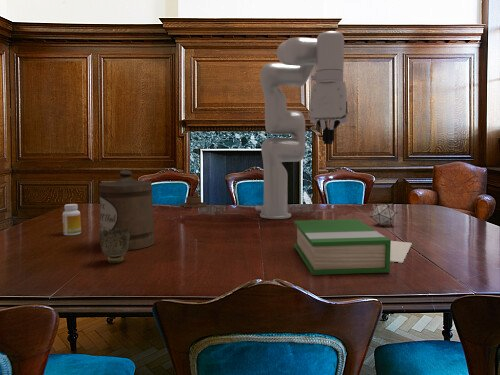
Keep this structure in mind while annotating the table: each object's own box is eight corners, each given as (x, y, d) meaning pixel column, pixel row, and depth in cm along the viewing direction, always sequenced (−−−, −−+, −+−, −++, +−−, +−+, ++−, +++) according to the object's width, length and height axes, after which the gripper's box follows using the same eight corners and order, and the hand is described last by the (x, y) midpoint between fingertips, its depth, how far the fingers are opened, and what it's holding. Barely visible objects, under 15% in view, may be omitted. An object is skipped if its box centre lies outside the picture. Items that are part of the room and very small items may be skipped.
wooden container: (99, 241, 124) (96, 168, 122) (149, 237, 130) (147, 167, 127) (103, 253, 110) (99, 171, 108) (158, 248, 116) (156, 170, 114)
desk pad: (322, 253, 109) (322, 252, 109) (343, 237, 128) (343, 236, 128) (402, 263, 100) (402, 261, 100) (411, 244, 119) (412, 242, 119)
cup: (104, 258, 106) (103, 227, 105) (133, 257, 106) (132, 226, 105) (96, 266, 98) (94, 233, 97) (127, 265, 99) (126, 233, 98)
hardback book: (294, 246, 115) (312, 274, 91) (294, 220, 114) (312, 242, 91) (356, 244, 116) (389, 272, 92) (356, 219, 115) (390, 240, 92)
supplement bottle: (84, 232, 136) (83, 203, 135) (73, 236, 131) (71, 206, 130) (71, 231, 138) (70, 203, 137) (59, 235, 133) (58, 205, 132)
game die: (388, 236, 146) (400, 217, 139) (365, 227, 147) (376, 208, 141) (390, 221, 153) (402, 201, 146) (368, 212, 154) (379, 192, 147)
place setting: (170, 207, 195) (170, 195, 194) (194, 202, 213) (194, 191, 212) (201, 210, 187) (201, 197, 186) (223, 204, 205) (223, 192, 204)
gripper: (299, 78, 116) (299, 144, 118) (353, 74, 109) (351, 144, 111) (308, 82, 122) (307, 144, 124) (359, 78, 115) (357, 144, 117)
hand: (328, 143), depth 117 cm, fingers closed
